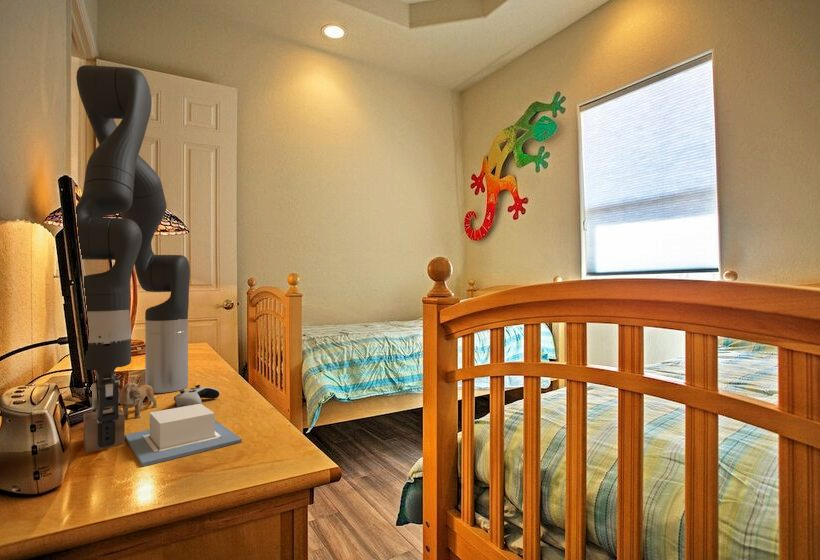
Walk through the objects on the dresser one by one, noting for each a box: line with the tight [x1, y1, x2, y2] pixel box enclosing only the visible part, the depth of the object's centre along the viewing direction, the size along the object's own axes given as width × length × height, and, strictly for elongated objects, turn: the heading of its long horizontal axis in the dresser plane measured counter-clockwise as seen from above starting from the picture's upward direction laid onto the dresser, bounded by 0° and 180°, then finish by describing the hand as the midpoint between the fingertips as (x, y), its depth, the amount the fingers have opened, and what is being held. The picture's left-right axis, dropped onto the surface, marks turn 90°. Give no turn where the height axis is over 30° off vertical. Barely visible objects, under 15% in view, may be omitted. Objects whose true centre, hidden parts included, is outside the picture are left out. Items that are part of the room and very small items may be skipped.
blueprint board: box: [125, 419, 243, 467], centre depth 71 cm, size 16×14×1 cm
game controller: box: [173, 384, 221, 408], centre depth 92 cm, size 10×5×6 cm
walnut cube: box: [83, 407, 126, 453], centre depth 70 cm, size 5×5×5 cm
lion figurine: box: [119, 382, 158, 420], centre depth 86 cm, size 12×4×7 cm, turn 14°
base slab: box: [149, 403, 216, 450], centre depth 71 cm, size 8×8×4 cm
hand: (104, 439), depth 70 cm, fingers open, 6 cm apart
